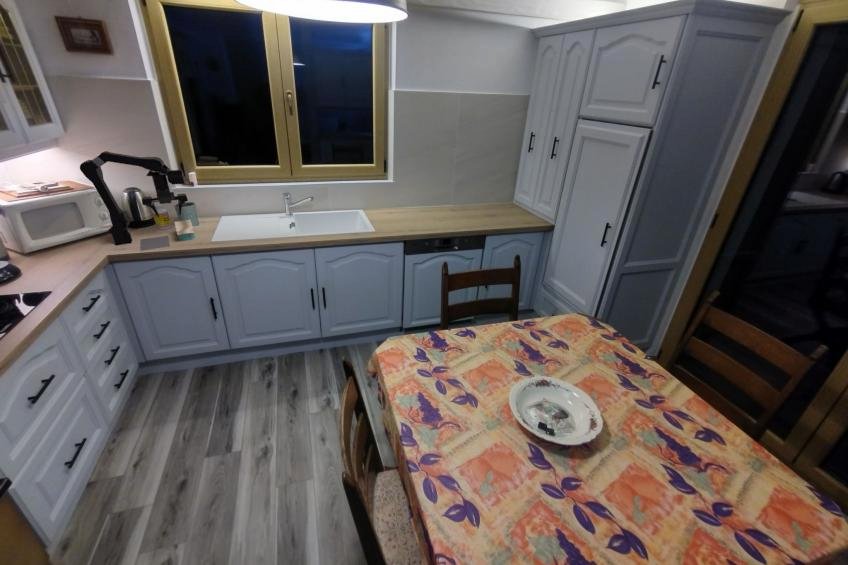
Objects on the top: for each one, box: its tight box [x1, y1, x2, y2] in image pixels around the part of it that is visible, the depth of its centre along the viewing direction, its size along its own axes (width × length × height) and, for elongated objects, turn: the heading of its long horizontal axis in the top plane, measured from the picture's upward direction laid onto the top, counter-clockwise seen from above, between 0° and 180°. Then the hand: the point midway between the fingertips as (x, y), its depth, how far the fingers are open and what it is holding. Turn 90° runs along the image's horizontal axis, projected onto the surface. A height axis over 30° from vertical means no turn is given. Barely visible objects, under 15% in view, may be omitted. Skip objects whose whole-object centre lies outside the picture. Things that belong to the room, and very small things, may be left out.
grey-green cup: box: [173, 201, 200, 227], centre depth 212 cm, size 10×10×12 cm
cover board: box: [174, 220, 195, 236], centre depth 194 cm, size 7×14×2 cm, turn 33°
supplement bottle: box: [152, 203, 172, 230], centre depth 208 cm, size 7×7×13 cm
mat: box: [139, 234, 171, 252], centre depth 190 cm, size 12×17×1 cm
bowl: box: [177, 232, 196, 241], centre depth 196 cm, size 7×7×5 cm
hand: (169, 216), depth 193 cm, fingers open, 9 cm apart
